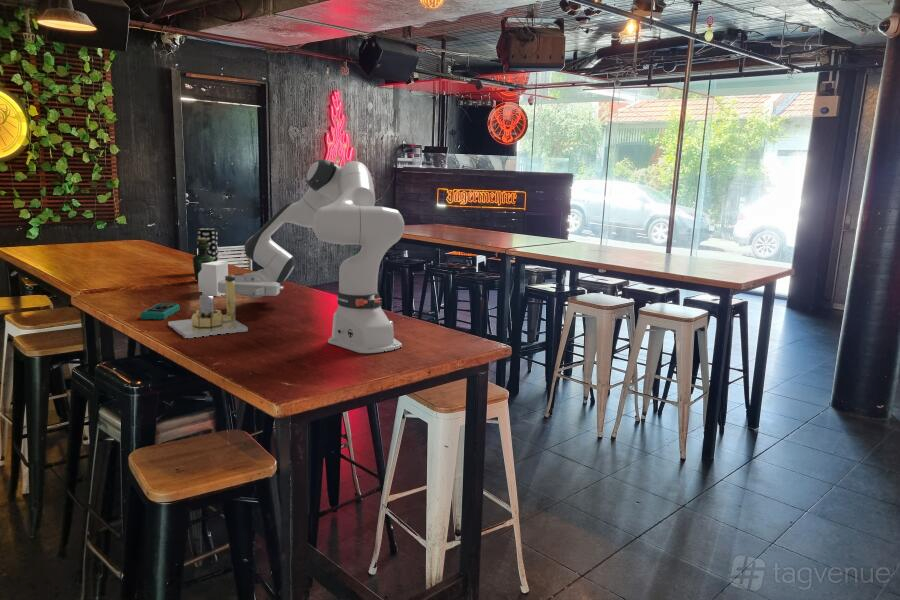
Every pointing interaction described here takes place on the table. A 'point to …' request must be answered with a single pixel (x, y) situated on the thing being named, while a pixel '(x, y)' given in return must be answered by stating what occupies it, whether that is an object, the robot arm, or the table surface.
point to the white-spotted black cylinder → (209, 241)
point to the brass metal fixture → (217, 316)
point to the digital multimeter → (160, 311)
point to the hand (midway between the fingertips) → (240, 291)
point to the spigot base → (193, 331)
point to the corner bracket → (212, 277)
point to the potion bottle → (201, 256)
